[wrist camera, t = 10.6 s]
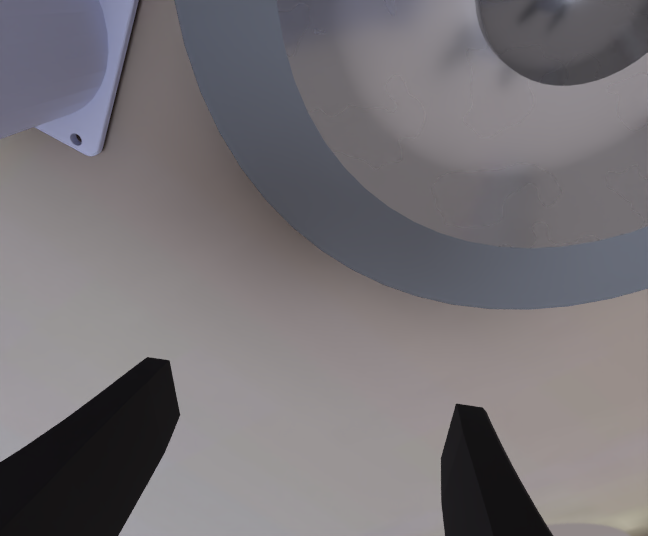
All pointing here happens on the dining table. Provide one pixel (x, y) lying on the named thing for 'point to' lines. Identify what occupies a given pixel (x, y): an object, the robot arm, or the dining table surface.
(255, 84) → the grey round plate
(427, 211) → the light grey rounded piece
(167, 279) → the dining table surface
